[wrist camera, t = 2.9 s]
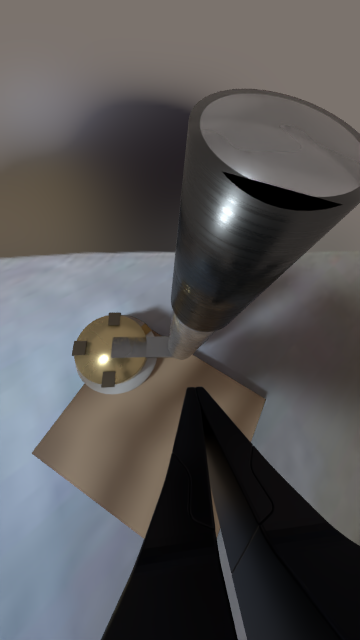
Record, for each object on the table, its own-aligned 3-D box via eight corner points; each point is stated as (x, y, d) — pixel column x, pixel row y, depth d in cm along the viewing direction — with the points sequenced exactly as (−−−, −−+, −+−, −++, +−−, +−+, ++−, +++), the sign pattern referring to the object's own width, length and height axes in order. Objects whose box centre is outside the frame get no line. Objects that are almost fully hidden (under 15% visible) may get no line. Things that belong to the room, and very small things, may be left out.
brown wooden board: (260, 398, 18) (272, 400, 16) (198, 568, 14) (204, 599, 12) (115, 309, 20) (110, 301, 18) (15, 430, 15) (-7, 437, 13)
